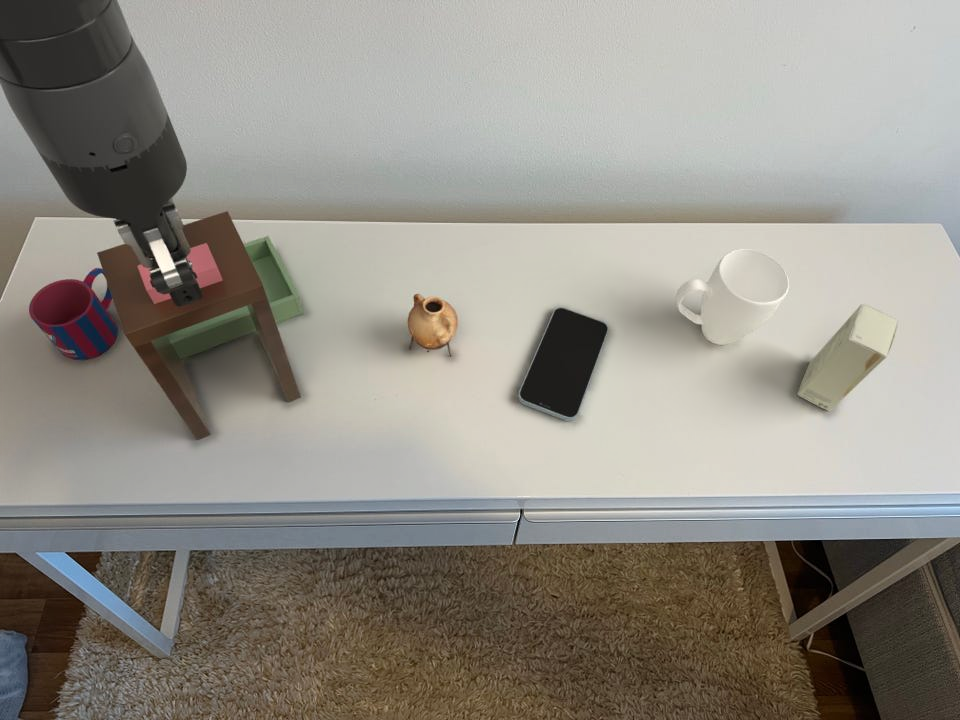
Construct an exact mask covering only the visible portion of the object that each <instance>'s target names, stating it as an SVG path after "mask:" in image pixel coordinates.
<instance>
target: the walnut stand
mask: <svg viewBox="0 0 960 720" xmlns="http://www.w3.org/2000/svg"><path fill="white" fill-rule="evenodd" d="M182 231H183V233H184V235H185V238H186V240H187V242H188V245H189V247H190V248H192V247H195V246H198V245H201V244H204V243H207V245H208V247H209V250H210V252H211V254H212V256H213V259H214V261H215V263H216V265H217V268H218V270H219V272H220V275H221V277H222V281H220V282H217V283H214V284H211V285H208V286H205V287H203V288H200V289H201V292H202V294H203V297H202V299H201V300H199V301H196V302H193V303H190V304H187V305H185V306H181V307H179V306H176V305H175V304H174V302H173V300H172V298H171V299H168V300H165V301H162V302H160V303H157V304H154V303H153V301H152V299H151V298H150V296H149V294H148V293H147V291H146V288H145V286H144V283H143V280H142V278H141V275H140V272H139V270H138V267H137V266H138V265H141V262H140V261H139V259H138V257H137V256H136V254H135V252H134V250H133V249H132V247H131V246H130V245H127V244H125V243H123V244H120V245H119V244H118V245H116V246H113V247H110V248H106V249H104V250H100V251H98V252H96V254H97V258H98V260H99V264H100V266H101V269H103V272H104V275H105V276H104V275H103V276H104V279H105V281H106V285H107V284H108V287H109V290H110V293H111V296H112V302H113V305H114V307H115V311H116V313H117V316H118V319H119V323H120V326H121V329H122V331H123V334H124V336H125V337H126V339H127V341H128V342H129V343H130V344H131V346H132V347H133V349H134V351H135V352H136V354H137V355H138V356H139V358H140V359H141V360H142V362H143V363H144V365H145V367H146V368H147V369H148V371H149V372H150V374H151V375H152V376H153V378H154V379H155V381H156V382H157V384H158V386H159V387H160V388H161V389H162V391H163V392H164V394H165V396H166V397H167V398H168V400H169V401H170V403H171V405H172V406H173V407H174V409H175V410H176V412H177V413H178V414H179V416H180V417H181V419H182V421H183V422H184V423H185V424H186V426H187V427H188V429H189V430H190V432H191V433H192V435H193V436H194V437H195V439H196V440H197V441H200V440H202V439H204V438H207V437H209V436H211V432H210V428H209V427H208V423H207V420H206V418H205V415H204V413H203V410H202V407H201V405H200V402H199V399H198V397H197V394H196V392H195V390H194V387H193V384H192V381H191V379H190V376H189V374H188V371H187V369H186V366H185V363H184V362H183V361H182V359H180V357H179V356H178V354H177V352H176V351H175V349H174V347H173V346H172V344H171V342H170V341H169V339H168V337H167V336H166V335H168V334H171V333H173V332H176V331H179V330H182V329H184V328H187V327H190V326H193V325H195V324H198V323H201V322H204V321H206V320H209V319H212V318H215V317H217V316H220V315H223V314H226V313H228V312H231V311H234V310H237V309H239V308H242V307H245V306H247V307H248V310H249V312H250V315H251V318H252V320H253V323H254V325H255V328H256V331H255V332H256V333H257V336H258V338H259V340H260V342H261V345H262V347H263V349H264V351H265V354H266V356H267V359H268V360H269V362H270V364H271V367H272V369H273V371H274V373H275V376H276V378H277V381H278V382H279V384H280V387H281V389H282V391H283V394H284V395H285V397H286V400H287V402H288V403H291V402H293V401H295V400H298V399H300V398H301V397H302V396H301V393H300V390H299V387H298V384H297V381H296V378H295V376H294V373H293V370H292V366H291V363H290V360H289V357H288V355H287V352H286V351H287V350H286V349H285V345H284V342H283V340H282V336H281V334H280V330H279V328H278V325H277V323H276V322H275V319H274V316H273V313H272V310H271V307H270V304H269V301H268V298H267V295H266V292H265V289H264V286H263V284H262V282H261V280H260V277H259V275H258V273H257V271H256V269H255V267H254V265H253V263H252V261H251V259H250V257H249V254H248V252H247V250H246V248H245V246H244V244H245V243H244V242H243V240H242V238H241V236H240V233H239V231H238V230H237V227H236V225H235V224H234V221H233V219H232V216H231V215H230V213H229V211H228V210H227V211H224V212H223V211H222V212H220V213H217V214H213V215H211V216H210V215H209V216H208V217H205V218H201V219H198V220H194V221H192V222H188V223H186V224H183V228H182Z"/></svg>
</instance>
